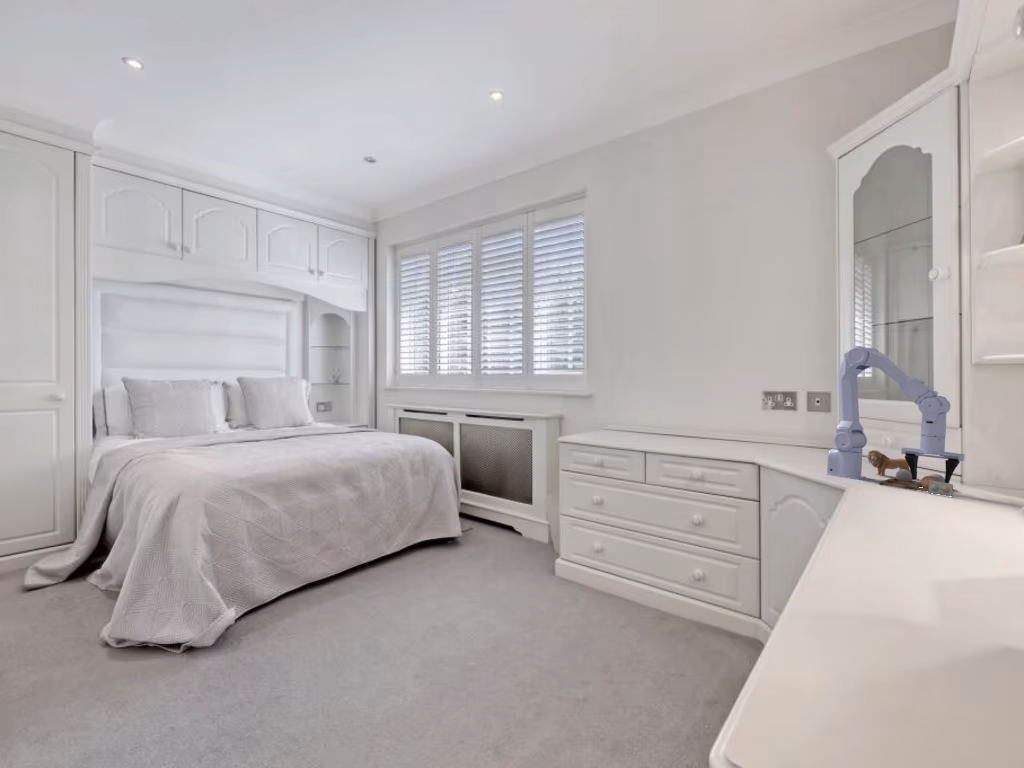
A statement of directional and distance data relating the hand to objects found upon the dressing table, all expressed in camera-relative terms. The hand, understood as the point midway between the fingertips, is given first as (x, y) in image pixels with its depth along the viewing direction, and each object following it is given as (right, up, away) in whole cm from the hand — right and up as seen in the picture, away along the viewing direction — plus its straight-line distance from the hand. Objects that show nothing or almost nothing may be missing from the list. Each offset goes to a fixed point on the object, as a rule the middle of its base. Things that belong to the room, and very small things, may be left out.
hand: (930, 481), depth 153 cm
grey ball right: (+5, -3, +5) cm, 8 cm away
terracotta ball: (0, -3, 0) cm, 3 cm away
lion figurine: (+5, -3, +24) cm, 24 cm away
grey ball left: (0, -3, +11) cm, 11 cm away
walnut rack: (0, -3, +5) cm, 6 cm away
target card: (-2, -3, -6) cm, 7 cm away
